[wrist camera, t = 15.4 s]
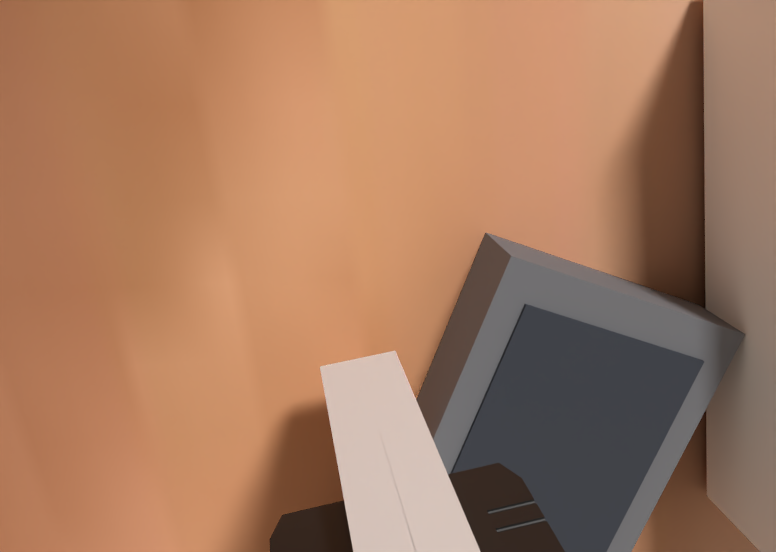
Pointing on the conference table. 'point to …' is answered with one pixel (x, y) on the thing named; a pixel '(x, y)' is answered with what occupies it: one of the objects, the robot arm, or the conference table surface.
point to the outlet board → (742, 258)
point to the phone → (573, 388)
